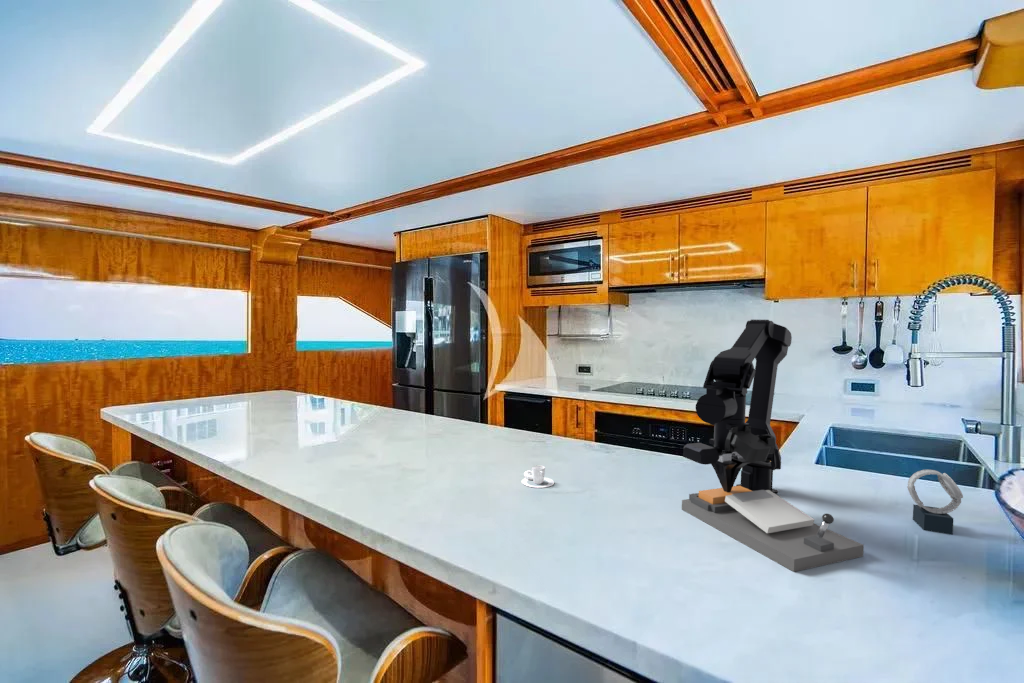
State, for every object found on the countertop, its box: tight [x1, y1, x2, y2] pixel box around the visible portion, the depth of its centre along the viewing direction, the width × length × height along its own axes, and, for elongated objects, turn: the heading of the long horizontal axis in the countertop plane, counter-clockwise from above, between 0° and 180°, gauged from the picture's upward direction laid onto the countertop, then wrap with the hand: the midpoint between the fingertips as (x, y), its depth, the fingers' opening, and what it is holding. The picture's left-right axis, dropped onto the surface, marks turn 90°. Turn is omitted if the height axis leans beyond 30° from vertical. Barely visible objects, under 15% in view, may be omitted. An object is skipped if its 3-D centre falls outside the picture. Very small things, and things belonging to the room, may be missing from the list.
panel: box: [681, 492, 865, 573], centre depth 89 cm, size 16×26×3 cm, turn 20°
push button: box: [698, 485, 752, 504], centre depth 97 cm, size 11×4×2 cm, turn 110°
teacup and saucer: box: [520, 464, 555, 489], centre depth 114 cm, size 9×8×4 cm
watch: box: [907, 468, 964, 535], centre depth 92 cm, size 6×8×11 cm
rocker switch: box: [725, 490, 815, 533], centre depth 88 cm, size 11×10×1 cm
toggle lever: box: [817, 513, 835, 538], centre depth 78 cm, size 2×2×5 cm
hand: (727, 491), depth 97 cm, fingers closed, pressing on push button
